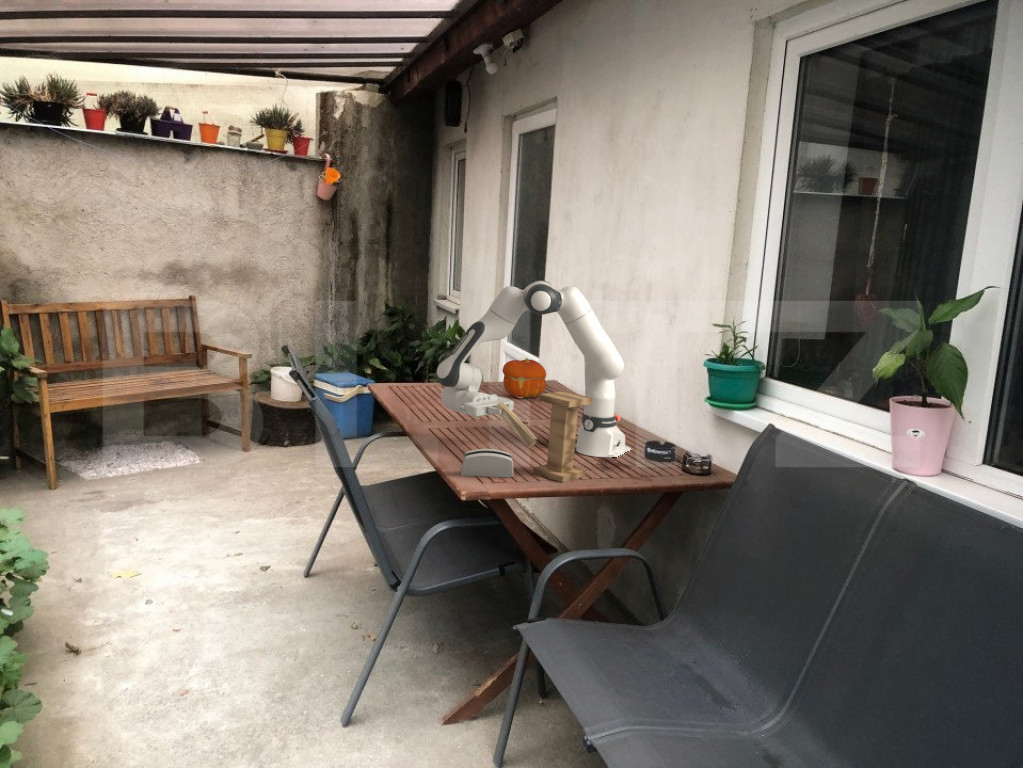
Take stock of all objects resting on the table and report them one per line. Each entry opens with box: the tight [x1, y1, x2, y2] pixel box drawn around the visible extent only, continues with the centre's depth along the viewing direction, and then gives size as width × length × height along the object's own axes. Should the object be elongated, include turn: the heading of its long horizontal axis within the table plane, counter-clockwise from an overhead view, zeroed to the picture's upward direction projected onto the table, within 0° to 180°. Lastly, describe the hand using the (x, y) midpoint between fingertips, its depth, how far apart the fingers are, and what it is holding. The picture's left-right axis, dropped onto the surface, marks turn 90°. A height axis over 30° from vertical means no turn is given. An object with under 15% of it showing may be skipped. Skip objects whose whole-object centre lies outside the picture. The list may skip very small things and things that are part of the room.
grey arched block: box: [460, 448, 514, 479], centre depth 228 cm, size 17×5×10 cm, turn 94°
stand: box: [532, 391, 592, 484], centre depth 233 cm, size 12×12×26 cm
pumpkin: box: [502, 357, 547, 398], centre depth 364 cm, size 23×23×20 cm
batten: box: [496, 402, 538, 447], centre depth 246 cm, size 2×19×3 cm, turn 48°
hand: (505, 411), depth 249 cm, fingers closed on batten, 2 cm apart
